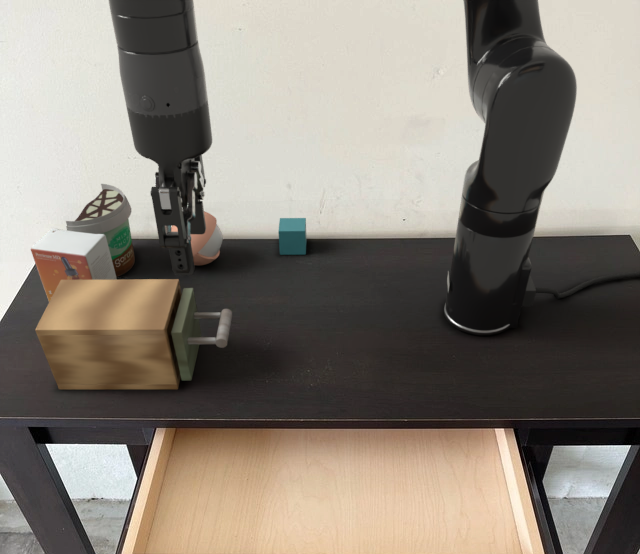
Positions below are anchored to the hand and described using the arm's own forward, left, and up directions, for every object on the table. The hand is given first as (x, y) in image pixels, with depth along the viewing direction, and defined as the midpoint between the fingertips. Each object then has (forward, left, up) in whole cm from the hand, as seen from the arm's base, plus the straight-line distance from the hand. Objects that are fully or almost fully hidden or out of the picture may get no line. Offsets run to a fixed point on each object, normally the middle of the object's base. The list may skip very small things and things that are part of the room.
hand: (190, 252), depth 72 cm
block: (-10, -27, -16) cm, 33 cm away
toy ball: (+4, -24, -16) cm, 29 cm away
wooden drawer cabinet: (+10, 0, -16) cm, 19 cm away
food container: (+16, -23, -16) cm, 32 cm away
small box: (+18, -12, -16) cm, 27 cm away
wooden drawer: (+6, 0, -15) cm, 16 cm away
